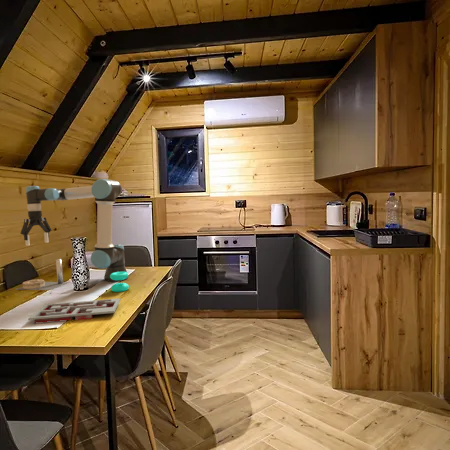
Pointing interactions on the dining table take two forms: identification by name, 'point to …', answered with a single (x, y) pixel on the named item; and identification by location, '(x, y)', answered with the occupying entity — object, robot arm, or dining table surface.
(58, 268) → the peg
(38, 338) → the dining table surface
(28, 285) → the tan faceted ring
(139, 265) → the dining table surface
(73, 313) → the maze game
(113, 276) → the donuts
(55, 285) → the board
